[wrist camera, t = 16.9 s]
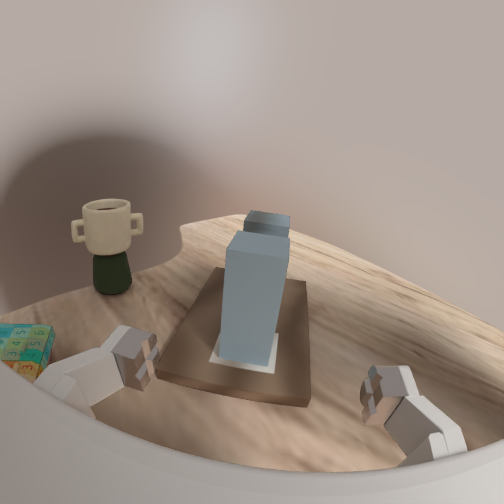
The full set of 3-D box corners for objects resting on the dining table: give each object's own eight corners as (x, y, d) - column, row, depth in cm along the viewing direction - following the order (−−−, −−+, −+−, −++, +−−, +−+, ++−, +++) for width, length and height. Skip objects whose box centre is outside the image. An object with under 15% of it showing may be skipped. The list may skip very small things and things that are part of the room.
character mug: (141, 271, 44) (138, 195, 39) (151, 292, 39) (148, 206, 34) (80, 281, 38) (70, 202, 33) (82, 304, 33) (68, 215, 28)
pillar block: (271, 336, 31) (289, 238, 26) (267, 366, 26) (289, 258, 22) (229, 329, 31) (238, 230, 27) (219, 357, 27) (226, 248, 22)
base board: (304, 289, 45) (320, 210, 40) (306, 407, 23) (350, 289, 18) (215, 275, 47) (221, 195, 42) (157, 378, 25) (143, 255, 19)
